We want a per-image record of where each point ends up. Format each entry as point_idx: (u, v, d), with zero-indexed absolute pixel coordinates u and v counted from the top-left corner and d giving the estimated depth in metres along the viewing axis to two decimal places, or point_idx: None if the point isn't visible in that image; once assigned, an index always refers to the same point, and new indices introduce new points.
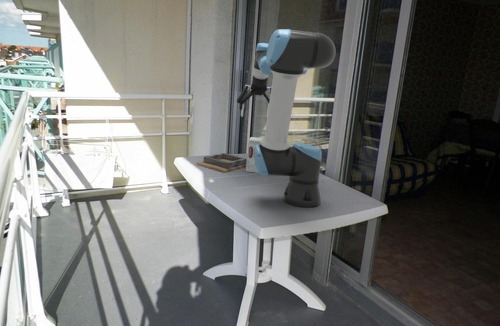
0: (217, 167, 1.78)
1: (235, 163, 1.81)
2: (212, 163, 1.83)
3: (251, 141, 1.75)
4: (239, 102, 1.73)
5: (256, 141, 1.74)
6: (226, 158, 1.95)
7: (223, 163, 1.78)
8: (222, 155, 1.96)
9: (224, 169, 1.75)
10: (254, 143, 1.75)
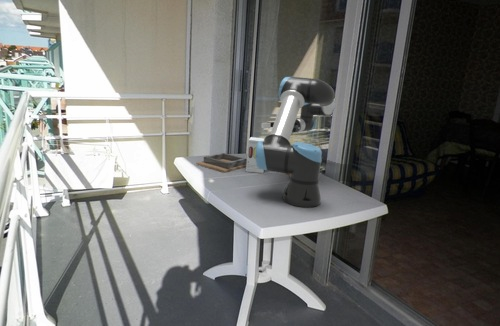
0: (217, 167, 1.78)
1: (235, 163, 1.81)
2: (212, 163, 1.83)
3: (251, 141, 1.75)
4: (268, 123, 1.95)
5: (256, 141, 1.74)
6: (226, 158, 1.95)
7: (223, 163, 1.78)
8: (222, 155, 1.96)
9: (224, 169, 1.75)
10: (254, 143, 1.74)
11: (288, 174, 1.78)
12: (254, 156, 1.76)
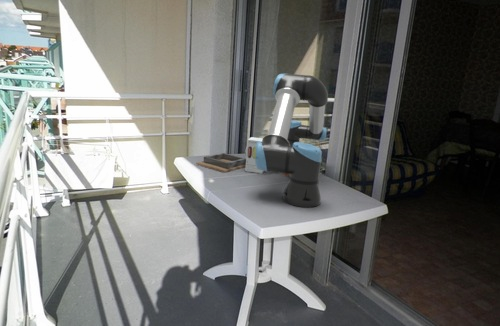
0: (217, 167, 1.78)
1: (235, 163, 1.81)
2: (212, 163, 1.83)
3: (250, 141, 1.74)
4: None
5: (255, 141, 1.74)
6: (226, 158, 1.95)
7: (223, 163, 1.78)
8: (222, 155, 1.96)
9: (224, 169, 1.75)
10: (253, 143, 1.74)
11: (287, 175, 1.76)
12: (253, 156, 1.76)
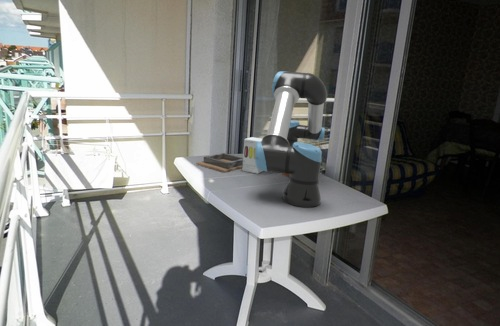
0: (217, 167, 1.78)
1: (235, 163, 1.81)
2: (212, 163, 1.83)
3: (246, 140, 1.75)
4: None
5: (251, 141, 1.74)
6: (226, 158, 1.95)
7: (223, 163, 1.78)
8: (222, 155, 1.96)
9: (224, 169, 1.75)
10: (249, 143, 1.74)
11: (287, 175, 1.75)
12: (249, 156, 1.75)
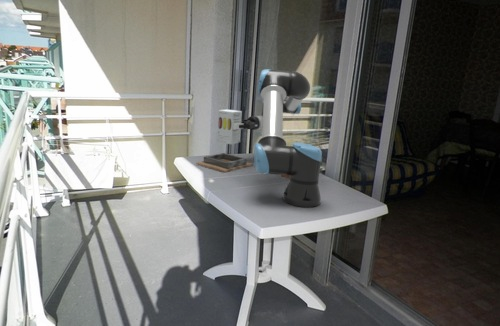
0: (217, 167, 1.78)
1: (235, 163, 1.81)
2: (212, 163, 1.83)
3: (220, 112, 1.78)
4: None
5: (224, 112, 1.76)
6: (226, 158, 1.95)
7: (223, 163, 1.78)
8: (222, 155, 1.96)
9: (224, 169, 1.75)
10: (223, 114, 1.77)
11: (288, 176, 1.74)
12: (223, 127, 1.78)
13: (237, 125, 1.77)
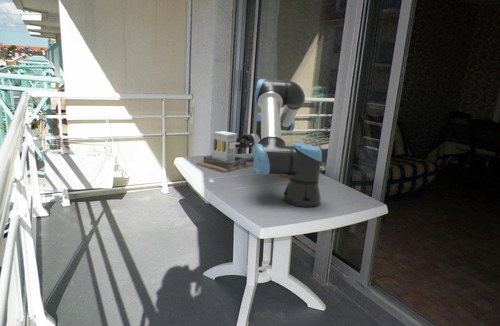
0: (217, 167, 1.78)
1: (235, 163, 1.81)
2: (212, 163, 1.83)
3: (215, 134, 1.81)
4: None
5: (220, 134, 1.79)
6: None
7: (223, 163, 1.78)
8: None
9: (224, 169, 1.75)
10: (218, 136, 1.80)
11: None
12: (218, 148, 1.81)
13: (233, 144, 1.80)
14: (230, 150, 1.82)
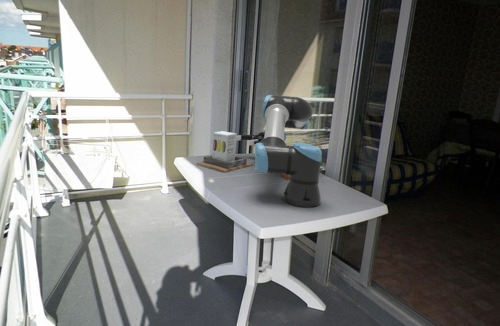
0: (217, 167, 1.78)
1: (235, 163, 1.81)
2: (212, 163, 1.83)
3: (215, 134, 1.80)
4: (239, 135, 2.03)
5: (219, 134, 1.79)
6: None
7: (223, 163, 1.78)
8: None
9: (224, 169, 1.75)
10: (217, 136, 1.80)
11: None
12: (218, 149, 1.81)
13: (252, 141, 1.88)
14: (230, 150, 1.82)
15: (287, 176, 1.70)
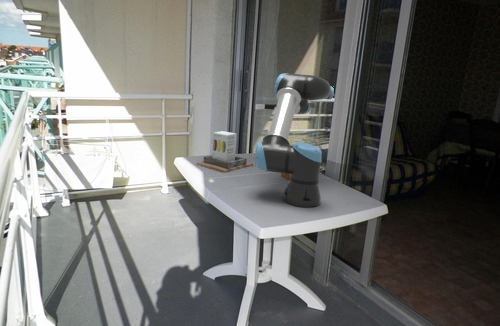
0: (217, 167, 1.78)
1: (235, 163, 1.81)
2: (212, 163, 1.83)
3: (215, 134, 1.80)
4: None
5: (219, 134, 1.79)
6: None
7: (223, 163, 1.78)
8: None
9: (224, 169, 1.75)
10: (217, 136, 1.80)
11: None
12: (218, 149, 1.81)
13: None
14: (230, 150, 1.82)
15: None
